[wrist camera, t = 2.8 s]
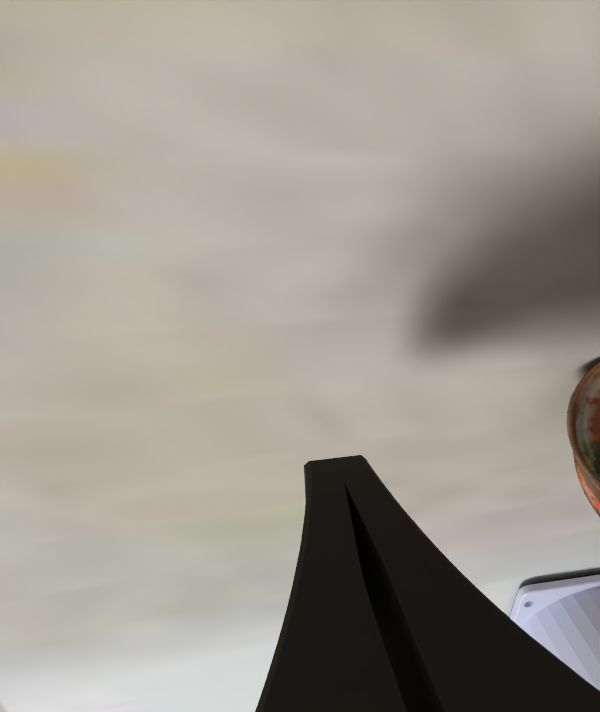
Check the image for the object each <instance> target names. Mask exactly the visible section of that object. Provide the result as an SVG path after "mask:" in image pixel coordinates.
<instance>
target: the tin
mask: <svg viewBox="0 0 600 712" xmlns="http://www.w3.org/2000/svg"><path fill="white" fill-rule="evenodd" d="M567 430H568V436H569V440H570V443H571V447H572V449H573V454H574V462H575V467H576V471H577V475H578V478H579V481H580V483H581V486H582V488H583V491H584V493H585V495H586V497H587V498H588V500H589V502H590V504H591V505H592V507H593V508H594V510H595V511H596V513H597V514H598V515H599V517H600V362H599V363H598V364H596V365H595V366H594V367H593V368H592V369H591V370H590V371H589V372H588V373H587V374H586V375H585V376H584V377H583V378H582V379H581V381H580V382H579V384H578V385H577V387H576V389H575V391H574V392H573V394H572V396H571V399H570V402H569V406H568V411H567Z"/></svg>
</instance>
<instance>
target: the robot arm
mask: <svg viewBox="0 0 600 712" xmlns="http://www.w3.org/2000/svg"><path fill="white" fill-rule="evenodd" d="M304 474H305V494H306V506H305V517H304V524H303V532H302V540H301V546H300V552H299V557H298V561H297V566H296V571H295V576H294V581H293V586H292V590H291V594H290V599H289V603H288V607H287V611H286V614H285V618H284V622H283V625H282V629H281V633H280V636H279V640H278V643H277V646H276V650H275V653H274V656H273V659H272V663H271V666H270V669H269V672H268V676H267V679H266V682H265V685H264V688H263V691H262V694H261V697H260V700H259V703H258V706H257V708H256V711H255V712H600V575H593V576H586V577H579V578H572V579H565V580H559V581H552V582H545V583H538V584H531V585H526V586H524V587H522V588H521V589H520V590H519V591H518V594H517V597H516V600H515V603H514V606H513V609H512V612H511V615H510V618H509V617H508V616H507V615H506V614H505V613H504V612H502V611H501V610H500V609H499V608H498V607H497V606H496V605H495V604H494V603H492V602H491V601H490V600H489V599H488V598H487V597H486V596H485V595H484V594H483V593H482V592H481V591H480V590H478V589H477V588H476V587H475V586H474V585H473V584H472V583H471V582H470V581H469V580H468V579H467V578H466V577H465V576H464V575H463V574H462V573H461V572H460V571H459V570H458V569H457V568H456V567H455V566H454V565H453V564H452V563H451V562H450V561H449V560H448V559H447V558H446V557H445V556H444V554H443V553H442V552H441V551H440V550H439V549H438V548H437V547H436V546H435V545H434V544H433V543H432V542H431V541H430V539H429V538H428V537H427V536H426V535H425V534H424V533H423V532H422V530H421V529H420V528H419V527H418V526H417V525H416V523H415V522H414V521H413V520H412V519H411V518H410V516H409V515H408V514H407V513H406V512H405V511H404V509H403V508H402V507H401V506H400V504H399V503H398V502H397V501H396V500H395V498H394V497H393V496H392V494H391V493H390V492H389V491H388V489H387V488H386V487H385V485H384V484H383V483H382V481H381V480H380V479H379V477H378V476H377V475H376V473H375V472H374V470H373V469H372V468H371V466H370V465H369V463H368V462H367V460H366V459H365V458H364V457H363V456H361V455H358V456H349V457H341V458H332V459H324V460H315V461H309V462H307V463H306V464H305V465H304Z"/></svg>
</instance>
